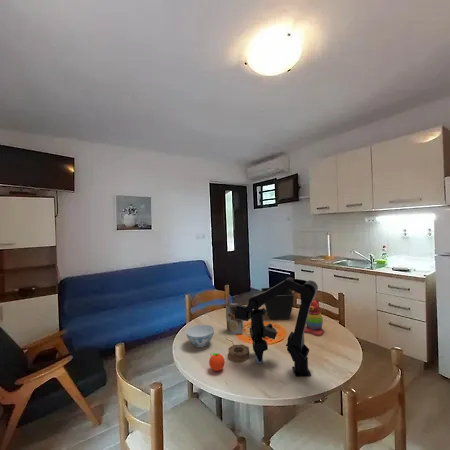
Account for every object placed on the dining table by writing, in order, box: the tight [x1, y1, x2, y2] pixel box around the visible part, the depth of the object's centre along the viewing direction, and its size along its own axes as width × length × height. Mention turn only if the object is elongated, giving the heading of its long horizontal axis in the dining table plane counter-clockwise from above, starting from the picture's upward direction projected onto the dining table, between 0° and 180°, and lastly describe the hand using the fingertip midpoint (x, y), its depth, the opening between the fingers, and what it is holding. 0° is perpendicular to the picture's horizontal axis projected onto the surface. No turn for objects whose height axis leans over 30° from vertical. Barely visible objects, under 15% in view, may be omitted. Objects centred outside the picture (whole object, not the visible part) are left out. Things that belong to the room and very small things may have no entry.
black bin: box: [261, 287, 295, 320], centre depth 172 cm, size 19×19×17 cm
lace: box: [225, 337, 236, 346], centre depth 137 cm, size 15×3×1 cm, turn 20°
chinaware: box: [185, 324, 215, 348], centre depth 138 cm, size 15×15×8 cm
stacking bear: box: [304, 299, 324, 337], centre depth 147 cm, size 11×10×18 cm
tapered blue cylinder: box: [254, 353, 264, 365], centre depth 119 cm, size 4×4×9 cm
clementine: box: [208, 352, 226, 372], centre depth 115 cm, size 8×7×7 cm
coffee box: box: [225, 302, 245, 335], centre depth 152 cm, size 9×6×16 cm
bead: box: [227, 344, 251, 363], centre depth 125 cm, size 10×10×3 cm
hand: (258, 355), depth 119 cm, fingers open, 9 cm apart
